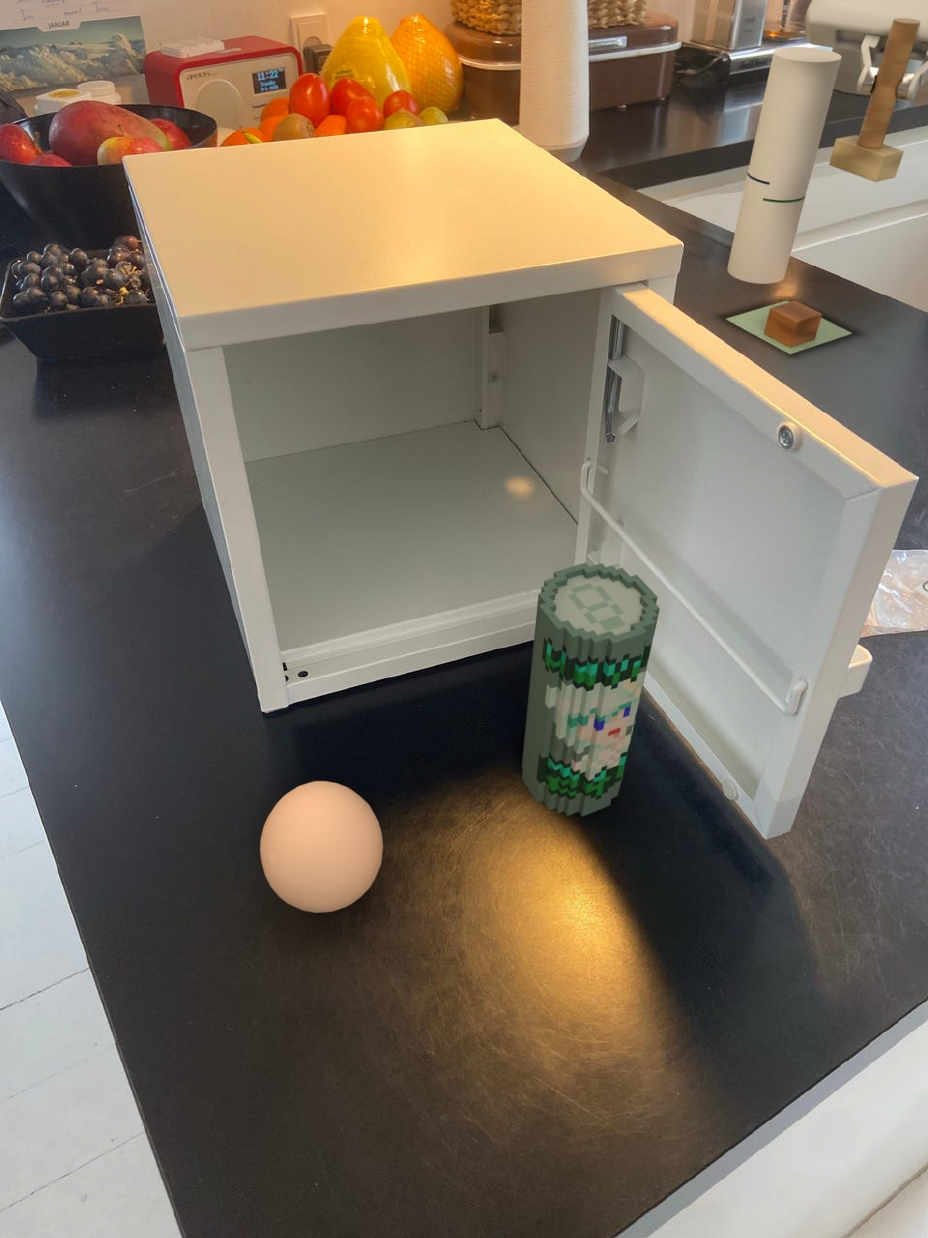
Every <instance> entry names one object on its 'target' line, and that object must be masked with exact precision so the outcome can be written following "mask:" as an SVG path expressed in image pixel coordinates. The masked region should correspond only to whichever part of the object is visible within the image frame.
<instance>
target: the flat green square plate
mask: <svg viewBox="0 0 928 1238" xmlns="http://www.w3.org/2000/svg"><path fill="white" fill-rule="evenodd" d="M789 302H790V301H788V300H784V301H780V302H777V303H773V304H770V305H767V306H764V307H760V308H757V309H754V310H750V311H746V312H744V313H740V314H737V315H734V316H730V317H727V318H725V320H727V321H728V322H730V323H732V324H734V325H736V326H737V327H739V328H741V329H743V330H745V331H746V332H748V333H749V334H751V335H754V336H756V337H758V338H760V339H761V340H763V341H765V342H767V343H768V344H770V345H772V346H774V347H776V348H778V349H780V350H781V351H783V352H784V353H785V352H786V353H787V354H789V355H793V354H795V353H798V352H801V351H804V350H807V349H810V348H813V347H816V346H819V345H821V344H825V343H829V342H831V341H834V340H838V339H840V338H844V337H846V336H849V335H851V334H853V333H852V332H851V331H849V330H847V329H845V328H842V327H841V326H839V325H837V324H835V323H833V322H831V321H829V320H827V319H824V318H823V317H821V321H820V324H819V327H818V331H817V334H816V337H815V340H812V341H809V342H805V343H802V344H799V345H796V346H793V347H788V346H786V345H784V344H782V343H780V342H778V341H777V340H775V339H773V338H771V337H769V336H767V335H765V334H764V330H765V326H766V322H767V318H768V314H769V310H770V308H772V307H776V306H779V305H782V304H786V303H789Z"/></svg>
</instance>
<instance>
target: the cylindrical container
mask: <svg viewBox="0 0 928 1238" xmlns="http://www.w3.org/2000/svg"><path fill="white" fill-rule="evenodd" d="M841 61H842V55H841V54H839V53H837V52H835V51H832V50H827V49H823V48H816V47H806V46H787V47H780V48H777V49H774V50H773V53H772V59H771V63H770V67H769V71H768V76H767V81H766V86H765V91H764V96H763V100H762V105H761V109H760V113H759V119H758V123H757V128H756V132H755V137H754V142H753V146H752V151H751V156H750V160H749V165H748V169H747V173H746V174H747V175H746V180H745V185H744V189H743V193H742V198H741V203H740V207H739V213H738V215H737V222H736V226H735V230H734V236H733V240H732V245H731V250H730V255H729V257H728V263H727V268H726V271H727V273H728V274H729V276H731V277H733V278H735V279H737V280H739V281H743V282H745V283H750V284H751V283H752V284H759V285H760V284H761V285H765V284H767V285H769V284H775V283H779V282H781V281H783V280H784V279H785V278H786V274H787V270H788V266H789V261H790V258H791V254H792V252H793V251H792V250H793V246H794V243H795V238H796V235H797V231H798V227H799V223H800V219H801V215H802V212H803V208H804V203H805V200H806V196H807V194H808V193H807V192H808V189H809V185H810V181H811V177H812V173H813V170H814V166H815V162H816V159H817V155H818V150H819V147H820V143H821V139H822V136H823V130H824V126H825V123H826V119H827V115H828V111H829V108H830V104H831V99H832V95H833V92H834V88H835V85H836V81H837V77H838V73H839V68H840V65H841Z"/></svg>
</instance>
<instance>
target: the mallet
mask: <svg viewBox="0 0 928 1238" xmlns="http://www.w3.org/2000/svg"><path fill="white" fill-rule="evenodd" d="M920 24H921V22H920V21H918V20H915V19H909V18H896V19H894V20H893V23H892V26H891V30H890V33H889V36H888V40H887V43H886V47H885V50H884V53H883V55H882V56H881V60H880V64H879V67H878V68H879V70H878V74H877V77H876V81H875V84H874V87H873V91H872V94H871V95H870V98H869V101H868V104H867V108H866V112H865V114H864V118H863V122H862V125H861V129H860V132H859V135H857V134H855V135H848V136H844V137H839V138H836V139H835V141H834V145H833V149H832V153H831V156H830V159H829V162H828V166H831V167H833V168H835V169H839V170H841V171H844V172H846V173H849V174H851V175H855V176H857V177H860V178H862V179H866V180H867V181H871V182H873V183H878V182H882V181H883V182H884V181H887V180H891V179H895V178H896V177H897V173H898V170H899V168H900V164H901V161H902V159H903V155H904V152H905V151H904V150H902V149H899V148H896V147H893V146H890V145H887V144H884V142H885V138H886V135H887V133H888V128H889V126H890V122H891V119H892V116H893V113H894V110H895V107H896V104H897V101H898V99H896V96H897V89H898V86H899V84H900V83H901V82H902V77H903V76H904V74H905V72H907V68H908V65H909V62H910V60H911V59H910V56H911V53H912V49H913V46H914V43H915V40H916V36H917V33H918V30H919V27H920Z"/></svg>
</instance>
